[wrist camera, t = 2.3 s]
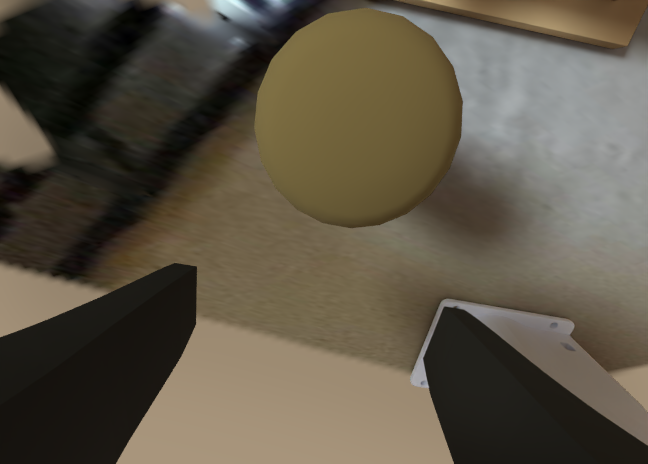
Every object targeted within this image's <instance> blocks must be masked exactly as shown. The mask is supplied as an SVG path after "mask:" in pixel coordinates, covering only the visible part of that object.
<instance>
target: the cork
mask: <svg viewBox="0 0 648 464" xmlns="http://www.w3.org/2000/svg"><path fill="white" fill-rule="evenodd" d="M462 105H463V101H462V97H461V93H460V90H459V86H458V82H457V79H456V75H455V71H454V68H453V66H452V64H451V63H450V61H449V60H448V58H447V57H446V56H445V54H444V53H443V51H442V50H441V48H440V47H439V45H438V44H437V42H436V41H435V40H434V38H433V37H432V36H431V35H429V34H428V33H426V32H425V31H423V30H422V29H420V28H419V27H417V26H416V25H415V24H413V23H412V22H410V21H409V20H407V19H406V18H404V17H403V16H399V15H395V14H391V13H386V12H382V11H377V10H373V9H369V8H361V9H355V10H349V11H342V12H336V13H329V14H327V15H325V16H323V17H321V18H320V19H318V20H316V21H314V22H313V23H311V24H309V25H307V26H306V27H304V28H302V29H300V30H298V31H297V32H295V34H294V35H293V36H292V37H291V38H290V39H289V41H288V42H287V43H286V44H285V45H284V46H283V47H282V49H281V50H280V51H279V52H278V53H277V54H276V55H275V57H274V58H273V59H272V60H271V63H270V65H269V67H268V70H267V72H266V75H265V77H264V79H263V82H262V84H261V86H260V89H259V91H258V96H257V106H256V116H255V133H256V138H257V143H258V148H259V153H260V158H261V162H262V164H263V165H264V167H265V169H266V171H267V173H268V175H269V177H270V178H271V180H272V182H273V184H274V186H275V188H276V189H277V190H278V191H279V192H280V193H281V194H282V195H283V196H284V197H285V198H286V199H287V200H288V201H289V202H290V203H291V204H292V205H293V206H294V207H295V208H296V209H297V210H299V211H301V212H303V213H305V214H307V215H309V216H311V217H312V218H314V219H316V220H318V221H320V222H322V223H326V224H332V225H337V226H342V227H348V228H356V227H366V226H375V225H381V224H383V223H385V222H388V221H390V220H393V219H395V218H398V217H400V216H402V215H405V214H407V213H408V212H410V211H411V210H412V209H413V208H415V207H416V206H417V205H418V204H420V203H421V202H422V201H423V200H425V199H426V198H427V197H428V196H430V195H431V194H432V192H433V191H434V189H435V188H436V187H437V185H438V184H439V183H440V181H441V180H442V178H443V177H444V176H445V174H446V173H447V171H448V170H449V169H450V166H451V163H452V160H453V158H454V155H455V152H456V149H457V146H458V143H459V141H460V138H461V126H462Z"/></svg>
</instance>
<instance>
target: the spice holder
mask: <svg viewBox="0 0 648 464" xmlns="http://www.w3.org/2000/svg"><path fill="white" fill-rule="evenodd" d="M395 1H399V2H404V3H408V4H413V5H417V6H422V7H426V8H431V9H435V10H440V11H444V12H449V13H453V14H458V15H462V16H467V17H471V18H476V19H480V20H485V21H489V22H494V23H498V24H503V25H507V26H512V27H516V28H521V29H525V30H530V31H534V32H539V33H543V34H548V35H552V36H557V37H561V38H566V39H570V40H575V41H579V42H584V43H588V44H593V45H597V46H602V47H606V48H611V49H615V48H620V47H625V46H628V44H629V42H630V40H631V38H632V36H633V34H634V32H635V30H636V28H637V26H638V24H639V22H640V20H641V18H642V16H643V14H644V12H645V10H646V8H647V6H648V0H395Z"/></svg>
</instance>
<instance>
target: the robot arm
mask: <svg viewBox="0 0 648 464" xmlns="http://www.w3.org/2000/svg"><path fill="white" fill-rule="evenodd" d="M196 287H197V266H190V265H184V264H178V263H174V264H171V265H169V266H166V267H164V268H162V269H160V270H157V271H155V272H153V273H151V274H149V275H147V276H145V277H143V278H140V279H138V280H136V281H134V282H132V283H130V284H128V285H126V286H123V287H121V288H119V289H117V290H115V291H113V292H111V293H108V294H106V295H104V296H102V297H100V298H97V299H95V300H93V301H90V302H88V303H86V304H83V305H81V306H79V307H76V308H74V309H72V310H69V311H67V312H65V313H62V314H60V315H58V316H55V317H53V318H50V319H48V320H45V321H43V322H40V323H38V324H35V325H33V326H30V327H27V328H25V329H22V330H19V331H17V332H14V333H11V334H8V335H6V336H3V337H0V464H116V462H117V461H118V459H119V457H120V455H121V454H122V452H123V450H124V448H125V447H126V445H127V443H128V441H129V440H130V438H131V437H132V435H133V433H134V432H135V430H136V429H137V427H138V425H139V424H140V422H141V420H142V418H143V417H144V416H145V414H146V413H147V411H148V409H149V408H150V406H151V405H152V403H153V401H154V400H155V398H156V396H157V395H158V393H159V391H160V390H161V389H162V387H163V385H164V384H165V382H166V380H167V379H168V377H169V376H170V374H171V372H172V371H173V369H174V367H175V366H176V364H177V362H178V361H179V359H180V357H181V356H182V354H183V351H184V349H185V347H186V345H187V343H188V341H189V338H190V336H191V334H192V332H193V330H194V328H195V325H196ZM454 306H457V308H453V307H454ZM552 323H553V324H552ZM574 327H575V325H574V323H573V322H572V321H571V320H569V319H565V318H560V317H554V316H548V315H542V314H536V313H530V312H524V311H518V310H513V309H507V308H501V307H495V306H489V305H483V304H477V303H472V302H466V301H460V300H454V299H444V300H443V301H441V303H440V305H439V307H438V310H437V312H436V315H435V317H434V320H433V322H432V325H431V327H430V330H429V332H428V335H427V337H426V340H425V342H424V345H423V347H422V349H421V352H420V354H419V357H418V359H417V362H416V364H415V367H414V369H413V372H412V374H411V377H410V381H411V383H412V385H414V386H418V387H424V388H429V391H430V394H431V398H432V401H433V404H434V407H435V410H436V413H437V415H438V418H439V421H440V424H441V427H442V430H443V433H444V436H445V439H446V442H447V445H448V447H449V450H450V453H451V456H452V459H453V461H454V464H648V412H647V411H646V410H645V409H644V408H643V406H642V405H641V404H640V403H639V402H638V401H637V400H635V399H634V398H633V397H632V396H631V395H630V394H629V393H628V392H627V391H626V390H625V389H624V388H623V387H622V386H621V385H620V384H619V383H618V382H617V381H616V380H615V379H614V378H613V377H612V376H611V375H610V374H609V373H608V372H607V371H606V370H605V369H604V368H603V367H602V366H600V365H599V364H598V363H597V362H596V361H595V360H594V359H593V358H592V357H591V356H590V355H589V354H588V353H587V352H586V351H585V350H584V349H583V348H582V347H581V346H580V345H579V344H578V343H577V342H576V341H575V340H574V339H573V338H572V337H571V336H570V334H571V332H572V331H573V329H574Z"/></svg>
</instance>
